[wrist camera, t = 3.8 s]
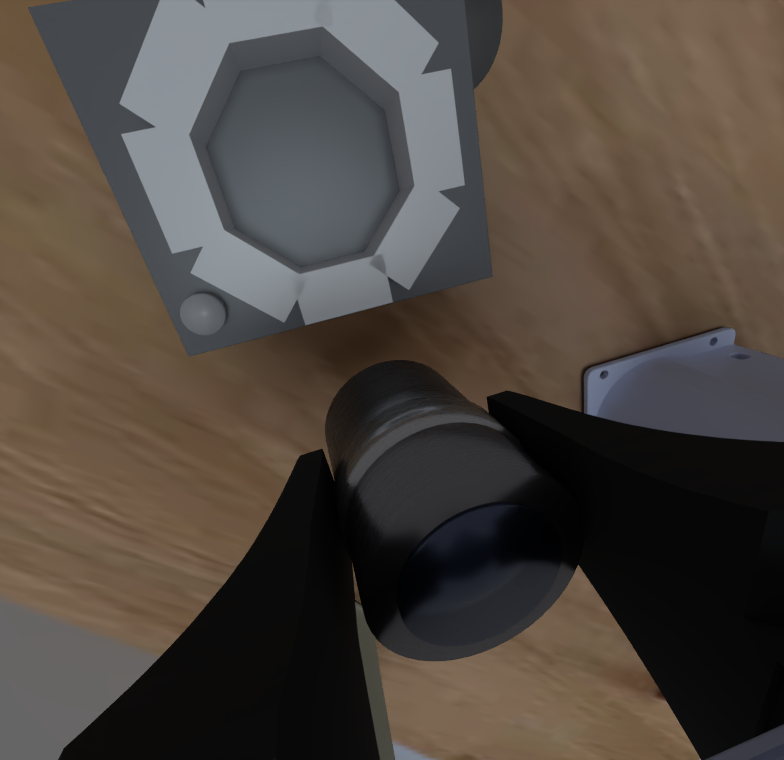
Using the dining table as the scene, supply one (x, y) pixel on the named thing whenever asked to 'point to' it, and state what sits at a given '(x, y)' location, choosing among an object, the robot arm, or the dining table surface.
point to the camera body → (281, 151)
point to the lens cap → (483, 35)
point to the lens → (444, 515)
